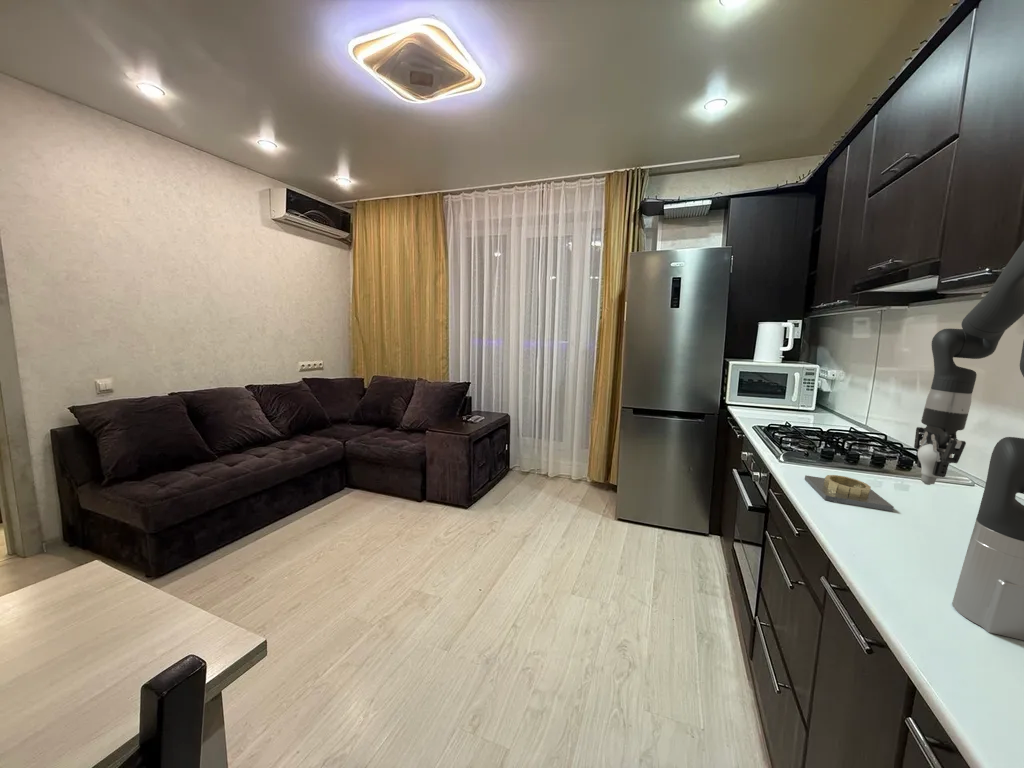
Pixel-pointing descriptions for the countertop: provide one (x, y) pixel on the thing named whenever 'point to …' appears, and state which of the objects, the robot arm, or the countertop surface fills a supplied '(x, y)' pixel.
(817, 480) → the lamp socket
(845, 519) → the countertop surface
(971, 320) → the robot arm
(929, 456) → the lightbulb
